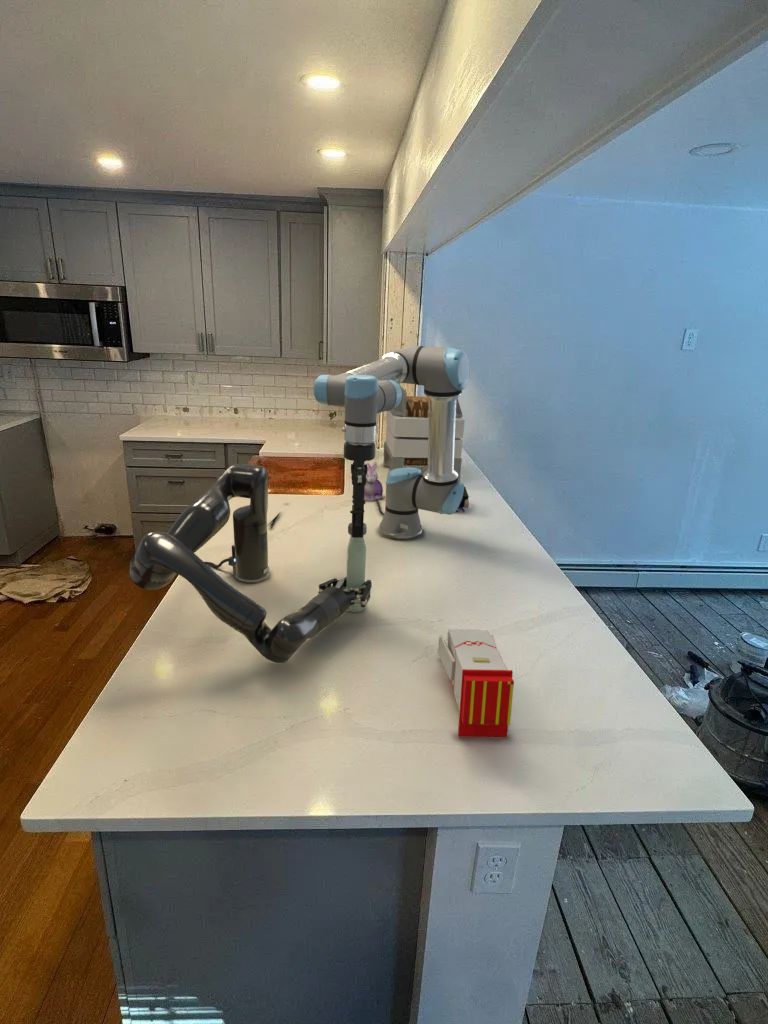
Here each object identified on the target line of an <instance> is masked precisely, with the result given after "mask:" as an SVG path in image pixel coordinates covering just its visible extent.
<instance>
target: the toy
mask: <svg viewBox="0 0 768 1024" xmlns="http://www.w3.org/2000/svg"><path fill="white" fill-rule="evenodd" d="M446 640H447V643H446V641H445V639H444V636H443V635H442V634H439V637H438V646H437V656H438V657H439V659H440V661H441V663H442V666H443V668H444V670H445V672H446V674H447V677H448V679H449V681H450V684H451V687H452V690H453V693H454V697H455V701H456V705H457V708H458V711H459V714H458V715H459V716H458V730H457V731H458V732H457V737H458V738H508V731H509V726H510V725H511V717H512V707H513V697H514V696H513V695H514V684H515V680H514V679H513V673H514V671H513V670H512V669H508V667H507V665H506V662H505V661H504V659H503V658H502V655H501V653H500V651H499V649H498V647H497V643H496V639H495V637H494V635H493V634H491V632H490V631H489V629H467V628H466V629H465V628H463V629H461V628H460V629H459V628H448V630H447V639H446Z"/></svg>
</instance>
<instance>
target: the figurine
mask: <svg viewBox="0 0 768 1024" xmlns="http://www.w3.org/2000/svg"><path fill="white" fill-rule="evenodd" d="M365 464H367V475H366V485H365V490H364V500H365V501H368V502H373V501H376V499H378V501H379V500H381V499H382V498H383V493H384V487H383V483H382V482H381V481H380V480H379V475H378V473H377V468H378V462H377V461H375V462H374V463H373V464H372V465H370V463H369V462H366V463H365Z"/></svg>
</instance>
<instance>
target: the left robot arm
mask: <svg viewBox="0 0 768 1024" xmlns="http://www.w3.org/2000/svg"><path fill="white" fill-rule="evenodd" d="M233 498H234V499H235V498H241V499H249V500H250V501H249V504H248V505H244V506H240V507H237V508H236V509H235V510H234V511H233V513H232V527H233V543H234V544H232V545H231V556H230V557H228V558H225V559H222V560H221V561H220V562H219V563H218V564H216V563H214V562H211V561H204V560H202V559H201V558H200V557H199V556H198V555H197V554H196V552H197V551H198V550H200V549H201V548H203V546H204V545H206V544H207V543H208V542H209V541H210V540H211V539H212V538H213V537H214V536H216V535H217V534H218V533H219V532H220V531H221V530H222V529H223V528H224V527H225V526H226V524H227V523H228V522H229V519H230V516H231V507H230V502H229V501H230V500H231V499H233ZM268 498H269V475H268V471H267V469H266V468H265V466H263V465H257V464H247V463H234V464H231V465H230V466H229V467H227V468H226V469H225V470H224V472H223V473H222V475H220V476H219V478H218V479H217V480H216V481H215V482H214V483H213V484H212V485H211V486H210V487H209V488H208V489H207V490H206V491H205V492H203V493H202V494H201V495H199V497H197V498H196V499H194V501H192V502H191V503H190V504H188V506H186V508H185V509H184V510H182V512H181V513H180V514H179V516H178V517H177V518H176V520H175V521H174V523H173V524H172V525H171V527H170V528H169V529H168V531H167V532H164V531H157V530H156V531H151V532H148V533H147V534H145V535H143V537H142V538H141V540H140V542H139V543H138V546H137V548H136V549H135V550H134V551H135V552H134V554H133V555H132V558H131V560H130V563H129V566H128V567H129V569H128V573H129V577H130V579H131V582H132V583H133V584H134V585H135V586H137V587H138V588H140V589H142V590H149V591H151V590H154V591H155V590H159V589H162V588H164V587H165V586H167V585H168V584H170V583H171V582H172V580H173V579H174V578H175V576H176V575H179V576H180V577H182V578H183V579H185V580H186V581H187V582H188V583H190V584H191V586H192V587H193V588H194V589H195V590H196V591H197V593H198V594H199V595H200V597H201V598H202V600H203V601H204V603H205V604H206V606H207V607H208V608H209V610H210V611H211V612H212V613H213V614H214V616H215V617H216V618H218V620H219V621H221V622H223V624H225V625H227V626H229V627H230V628H231V629H233V630H235V631H237V632H238V633H240V634H241V635H243V636H244V637H245V638H246V640H247V641H248V642H249V643H250V644H251V646H252V647H254V648H255V650H256V651H257V652H258V653H259V654H260V655H261V656H262V657H263V658H264V659H266V660H267V661H269V662H272V663H275V664H284V663H287V662H288V661H289V660H290V659H292V657H293V656H294V655H295V654H296V652H297V651H298V650H299V649H300V648H301V647H302V646H303V645H304V644H305V643H306V641H308V640H310V639H312V638H314V637H316V636H317V635H318V634H319V633H321V632H322V631H323V630H324V629H326V628H327V627H329V626H330V625H332V624H333V623H335V622H336V621H337V620H338V619H339V618H340V617H342V616H343V615H344V614H345V613H347V611H348V610H347V609H348V608H349V606H351V605H354V604H355V603H357V604H361V607H364V608H366V606H367V604H368V603H369V601H370V599H371V589H372V580H371V579H367V580H365V582H364V583H363V584H362V585H361V586H359V587H357V586H354V587H351V588H346V584H347V575H346V576H345V577H344V578H340V579H338V578H335V577H333V578H331V579H328V580H327V581H324V582H322V583H319V584H318V594H316V595H315V596H313V597H312V598H311V599H310V600H309V601H308V602H306V604H304V605H303V606H301V607H300V608H299V609H298V610H296V611H294V612H292V613H289V614H287V615H285V616H284V617H282V618H281V619H279V620H278V621H277V623H276V624H275V625H274V626H273V627H272V628H271V627H270V626H269V625H268V624H267V623H266V619H267V615H268V614H267V613H268V612H267V610H266V608H265V607H263V606H262V605H261V604H260V603H258V602H257V601H255V600H253V599H252V598H250V597H249V596H247V595H246V594H244V593H242V592H241V591H239V590H238V589H236V588H235V587H234V586H232V585H231V584H230V583H228V582H227V581H226V580H225V579H223V578H222V577H221V576H220V575H219V574H218V573H217V572H216V571H214V570H213V569H212V567H213V568H214V569H219V568H220V567H222V566H223V564H225V563H228V566H231V567H232V576H233V577H235V579H236V580H237V581H239V582H241V583H244V584H245V583H246V584H254V583H260V582H263V581H265V580H266V579H268V578H269V576H270V572H269V571H270V566H269V545H268V526H267V525H268V508H269V499H268ZM210 566H212V567H210ZM360 590H361V592H360ZM359 592H360V593H359Z"/></svg>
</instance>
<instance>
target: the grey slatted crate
mask: <svg viewBox="0 0 768 1024" xmlns="http://www.w3.org/2000/svg"><path fill="white" fill-rule="evenodd" d="M398 385H399V386H400V388H401V391H402V399H401V402H400V403H399V405H398V406H397V407H395V408H393V409H392V410H389V411H385V412H386V413H385V414H386V415H385V423H386V428H385V438H384V442H383V466H384V467H388V468H389V472H390V471H391V470H393V469H397V468H404V467H405V466H406V467H410V466H411V467H417V466H418V467H428V414H429V398H428V397H427V396H415V395H414V396H413V395H412V396H411V395H407V394H408V393H407V390H406V389H404V388H403V387H402V385H400V384H398ZM464 429H465V419H464V418H463V411H462V408H461V405H460V402H459V397H458V398H457V400H456V426H455V452H454V470H455V471H456V472H457V473H458V481H461V472H462V461H463V460H462V453H463V442H464V441H463V440H462V439H463V438H464V431H465V430H464Z"/></svg>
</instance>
